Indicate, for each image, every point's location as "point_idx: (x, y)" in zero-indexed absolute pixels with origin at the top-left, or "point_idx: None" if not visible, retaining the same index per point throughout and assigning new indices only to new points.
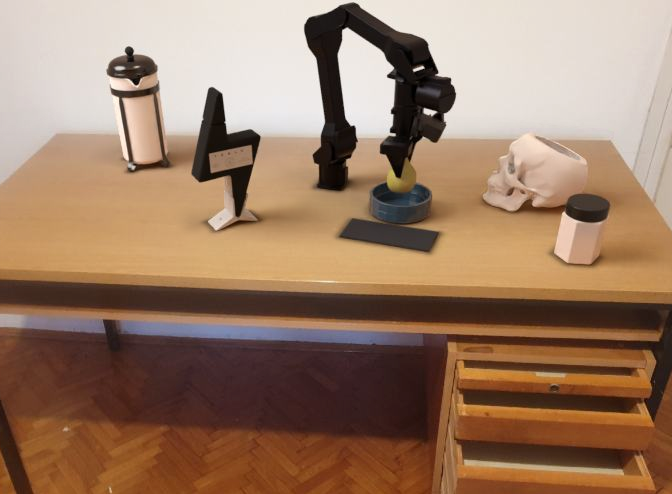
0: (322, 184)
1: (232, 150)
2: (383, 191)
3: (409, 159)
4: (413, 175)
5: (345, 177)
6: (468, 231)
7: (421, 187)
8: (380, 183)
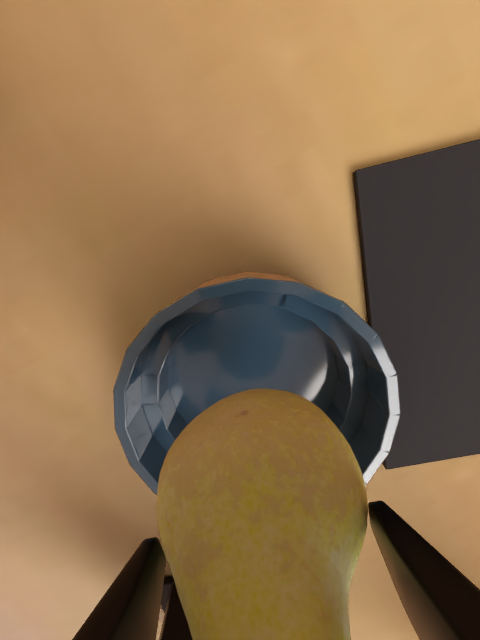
0: None
1: None
2: None
3: (129, 615)
4: (273, 447)
5: None
6: (275, 57)
7: (133, 377)
8: None
